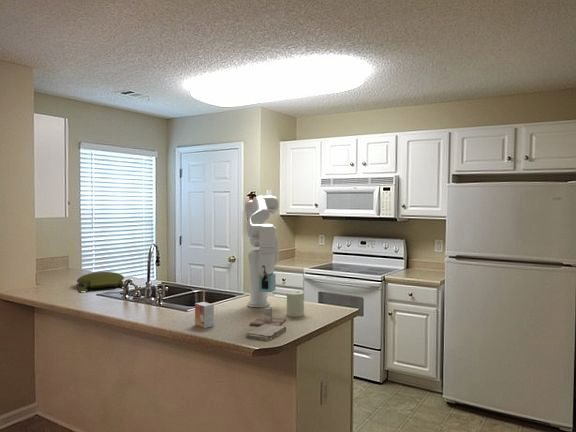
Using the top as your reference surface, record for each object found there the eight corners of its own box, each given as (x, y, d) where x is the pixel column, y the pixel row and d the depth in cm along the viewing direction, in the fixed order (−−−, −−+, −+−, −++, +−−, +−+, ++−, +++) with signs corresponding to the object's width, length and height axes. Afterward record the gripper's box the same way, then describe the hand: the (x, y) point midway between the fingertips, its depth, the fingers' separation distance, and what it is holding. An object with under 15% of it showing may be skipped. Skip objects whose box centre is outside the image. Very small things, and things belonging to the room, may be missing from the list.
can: (307, 313, 240) (307, 291, 239) (298, 317, 232) (298, 294, 231) (292, 311, 244) (291, 289, 244) (283, 315, 236) (283, 292, 236)
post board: (259, 318, 230) (259, 303, 230) (285, 320, 226) (285, 305, 226) (249, 325, 218) (249, 310, 217) (277, 327, 214) (277, 312, 213)
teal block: (263, 289, 225) (263, 273, 225) (275, 289, 223) (275, 273, 223) (259, 291, 219) (259, 275, 219) (271, 292, 217) (271, 276, 217)
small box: (194, 325, 219) (194, 303, 219) (204, 322, 223) (204, 301, 223) (204, 328, 214) (204, 306, 213) (214, 326, 217) (213, 304, 217)
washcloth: (244, 339, 198) (244, 332, 198) (264, 328, 215) (264, 321, 214) (268, 342, 193) (268, 335, 193) (286, 331, 210) (286, 324, 209)
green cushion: (129, 288, 310) (129, 274, 310) (80, 293, 294) (79, 278, 294) (119, 281, 340) (119, 268, 340) (74, 285, 325) (74, 271, 324)
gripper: (266, 248, 230) (266, 284, 231) (253, 252, 213) (253, 290, 214) (280, 249, 228) (280, 284, 228) (268, 253, 211) (268, 291, 212)
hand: (267, 287), depth 221 cm, fingers closed on teal block, 6 cm apart
